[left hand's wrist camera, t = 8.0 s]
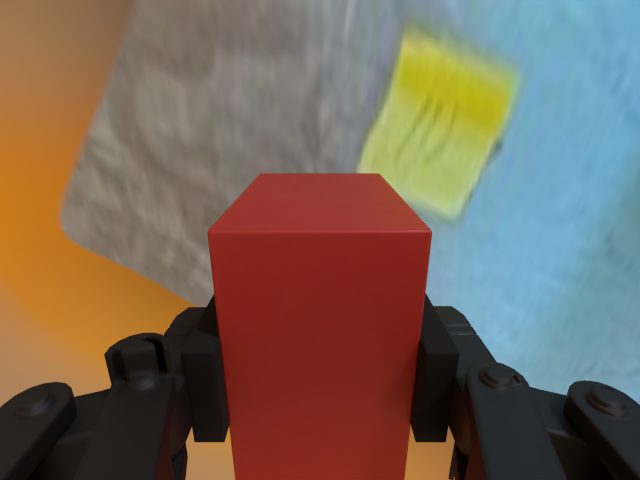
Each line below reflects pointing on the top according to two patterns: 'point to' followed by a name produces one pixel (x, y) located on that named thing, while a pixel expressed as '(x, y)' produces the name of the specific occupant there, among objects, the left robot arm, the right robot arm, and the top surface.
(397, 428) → the brick
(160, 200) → the top surface
